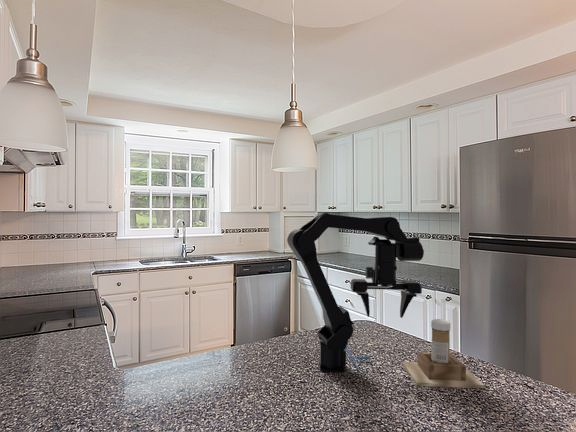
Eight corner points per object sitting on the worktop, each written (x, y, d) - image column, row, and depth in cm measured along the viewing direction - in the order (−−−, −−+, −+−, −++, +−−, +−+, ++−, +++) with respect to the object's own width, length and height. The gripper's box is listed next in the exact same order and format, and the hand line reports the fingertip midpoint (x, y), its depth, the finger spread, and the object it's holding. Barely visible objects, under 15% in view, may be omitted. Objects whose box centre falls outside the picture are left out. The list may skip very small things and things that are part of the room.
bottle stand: (417, 385, 88) (417, 368, 88) (402, 364, 101) (402, 349, 101) (484, 388, 88) (484, 370, 88) (460, 366, 101) (461, 351, 101)
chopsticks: (357, 338, 119) (341, 339, 119) (379, 370, 94) (359, 371, 94) (357, 343, 119) (341, 343, 119) (379, 376, 94) (359, 376, 94)
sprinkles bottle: (451, 372, 95) (452, 320, 95) (447, 378, 91) (448, 324, 91) (433, 367, 98) (434, 317, 98) (428, 373, 94) (429, 321, 94)
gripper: (410, 259, 110) (409, 310, 110) (348, 257, 111) (347, 308, 111) (422, 263, 99) (421, 320, 99) (353, 261, 100) (352, 318, 99)
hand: (384, 316), depth 102 cm, fingers open, 9 cm apart
